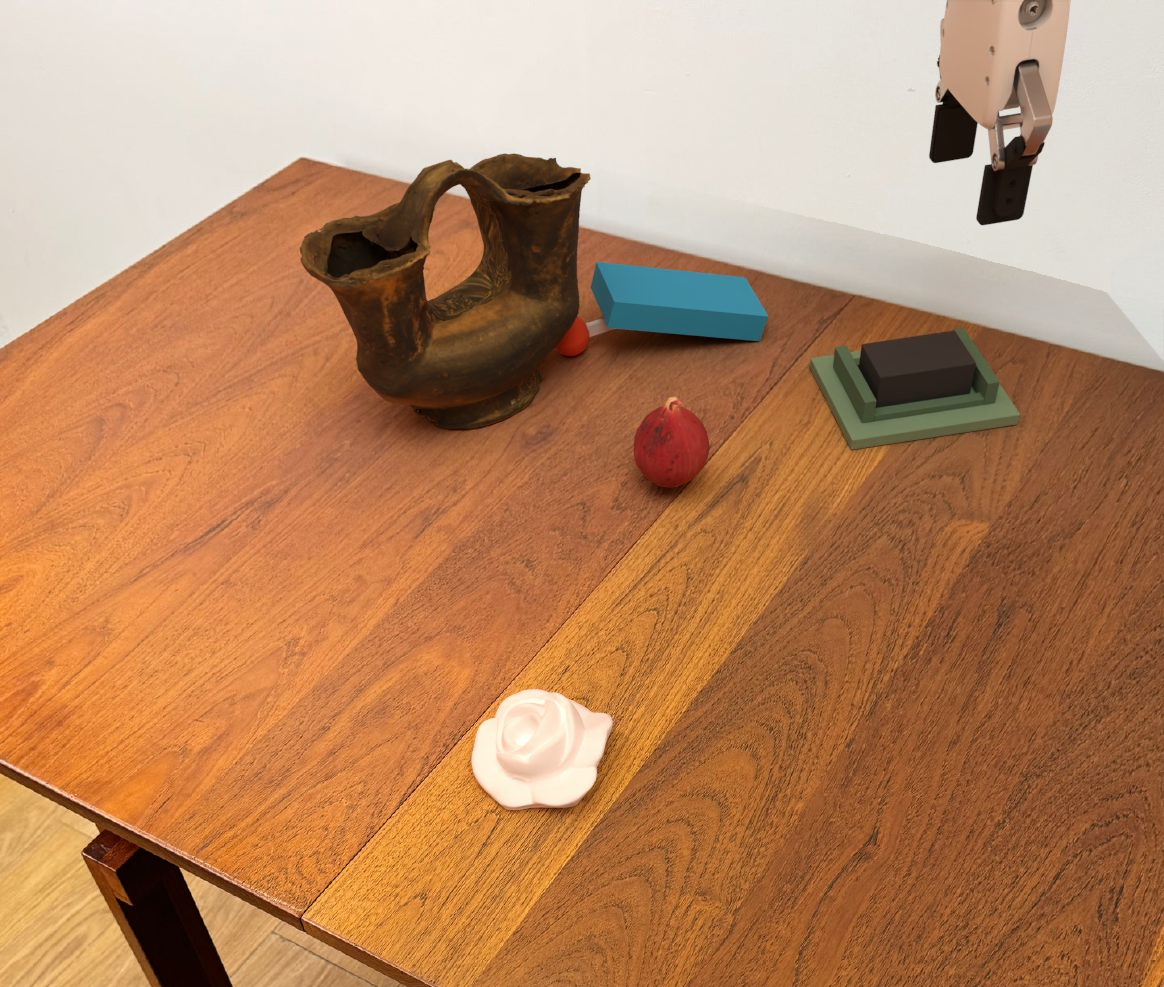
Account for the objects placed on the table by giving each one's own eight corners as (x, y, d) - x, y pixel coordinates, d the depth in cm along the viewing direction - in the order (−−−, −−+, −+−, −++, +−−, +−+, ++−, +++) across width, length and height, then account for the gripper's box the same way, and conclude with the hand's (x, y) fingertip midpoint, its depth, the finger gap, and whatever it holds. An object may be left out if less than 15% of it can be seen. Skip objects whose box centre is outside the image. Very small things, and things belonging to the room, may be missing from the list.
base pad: (965, 344, 109) (971, 313, 107) (1018, 424, 102) (1026, 393, 99) (809, 368, 108) (812, 336, 106) (850, 450, 101) (854, 419, 99)
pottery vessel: (390, 488, 101) (339, 255, 86) (319, 430, 107) (260, 201, 91) (624, 365, 110) (616, 134, 95) (548, 317, 116) (528, 92, 101)
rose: (647, 735, 77) (508, 801, 75) (648, 780, 81) (515, 844, 78) (569, 638, 83) (437, 697, 80) (573, 684, 86) (447, 741, 84)
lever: (722, 347, 119) (540, 331, 114) (745, 277, 114) (555, 257, 109) (744, 387, 115) (556, 373, 109) (768, 316, 110) (572, 298, 104)
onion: (675, 519, 97) (675, 432, 91) (619, 490, 99) (615, 403, 93) (722, 482, 99) (725, 395, 93) (667, 454, 102) (666, 368, 96)
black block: (948, 361, 106) (955, 329, 104) (970, 395, 103) (976, 363, 101) (857, 375, 106) (861, 343, 103) (875, 409, 102) (880, 377, 100)
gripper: (1138, -49, 72) (1072, 238, 85) (1022, -136, 83) (980, 130, 96) (1011, -29, 72) (965, 256, 85) (912, -119, 83) (885, 145, 96)
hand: (973, 188), depth 90 cm, fingers open, 9 cm apart
